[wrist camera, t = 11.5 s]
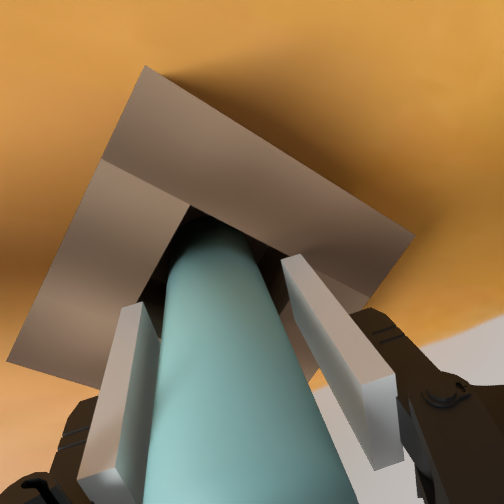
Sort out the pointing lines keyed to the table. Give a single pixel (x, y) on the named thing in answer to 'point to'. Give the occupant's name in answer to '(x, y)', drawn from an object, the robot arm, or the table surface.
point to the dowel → (232, 388)
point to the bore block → (181, 212)
